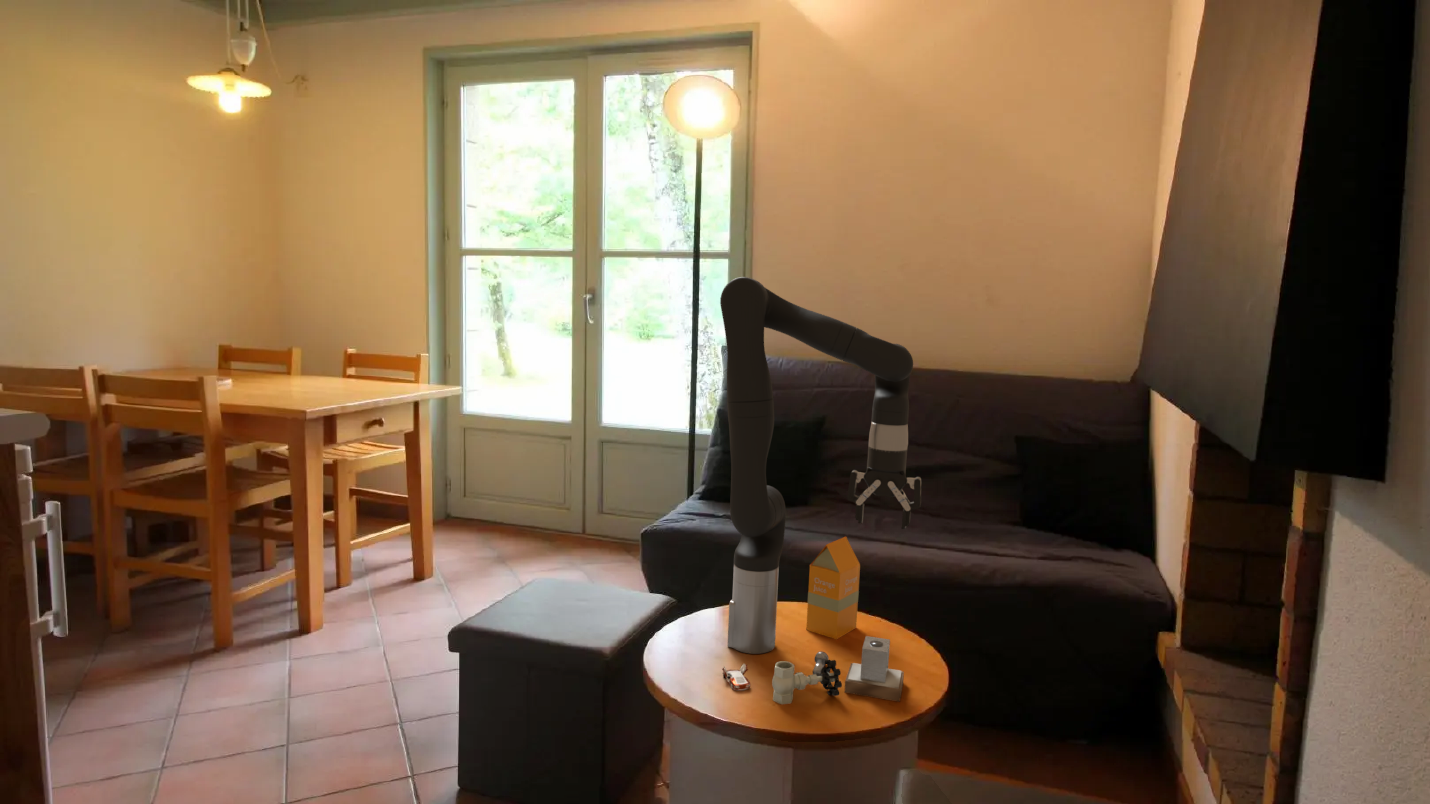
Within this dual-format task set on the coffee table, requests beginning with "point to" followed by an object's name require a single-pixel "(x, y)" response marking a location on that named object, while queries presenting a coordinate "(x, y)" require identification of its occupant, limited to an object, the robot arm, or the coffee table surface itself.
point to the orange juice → (833, 590)
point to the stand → (874, 684)
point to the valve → (802, 680)
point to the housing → (875, 659)
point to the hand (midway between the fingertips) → (882, 525)
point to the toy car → (737, 678)
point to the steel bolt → (819, 662)
